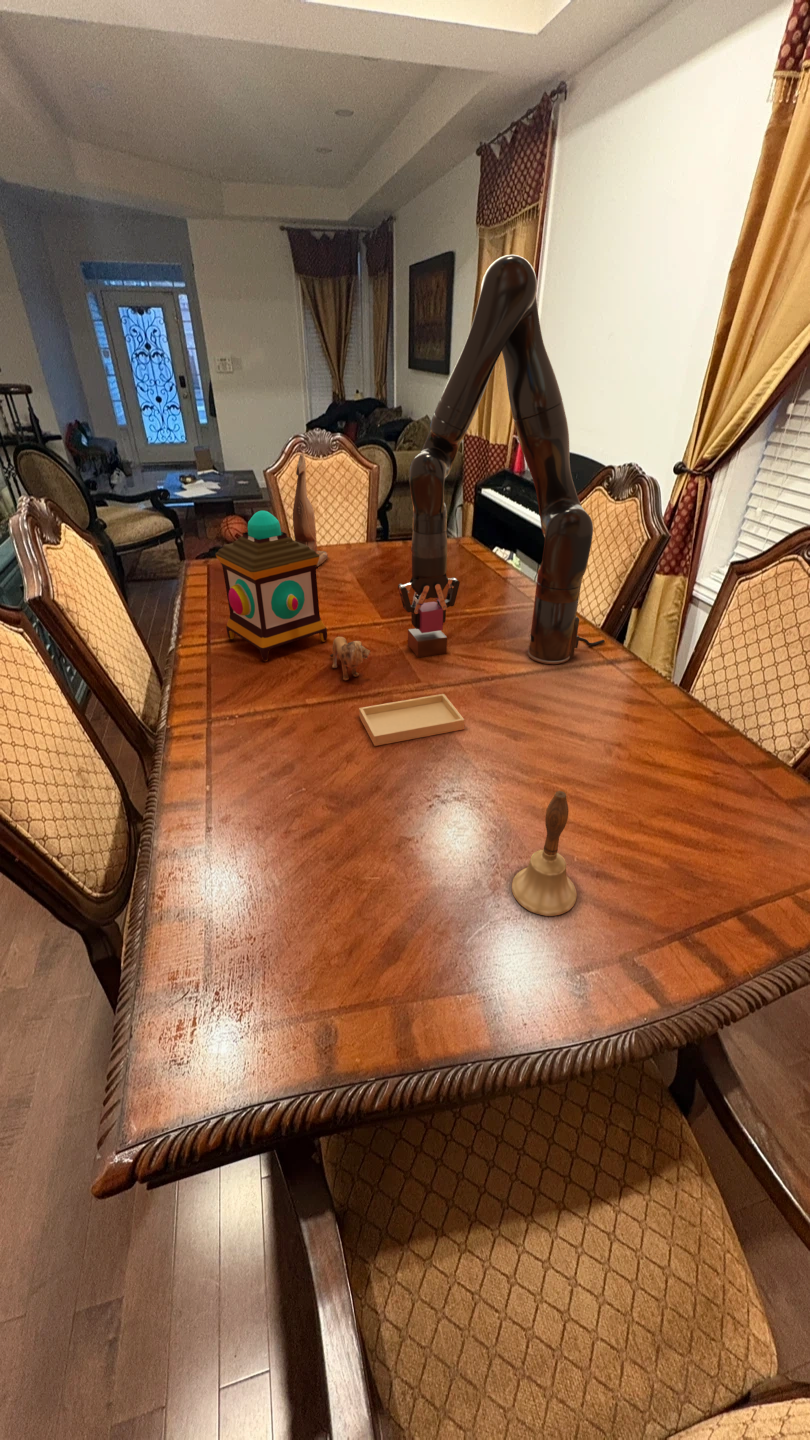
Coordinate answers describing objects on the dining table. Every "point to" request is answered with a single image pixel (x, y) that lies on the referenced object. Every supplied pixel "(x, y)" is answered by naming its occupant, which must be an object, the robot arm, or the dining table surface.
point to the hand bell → (547, 869)
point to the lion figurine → (348, 655)
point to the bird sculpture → (305, 514)
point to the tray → (410, 719)
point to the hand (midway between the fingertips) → (428, 625)
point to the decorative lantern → (270, 586)
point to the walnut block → (427, 642)
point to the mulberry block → (431, 617)
